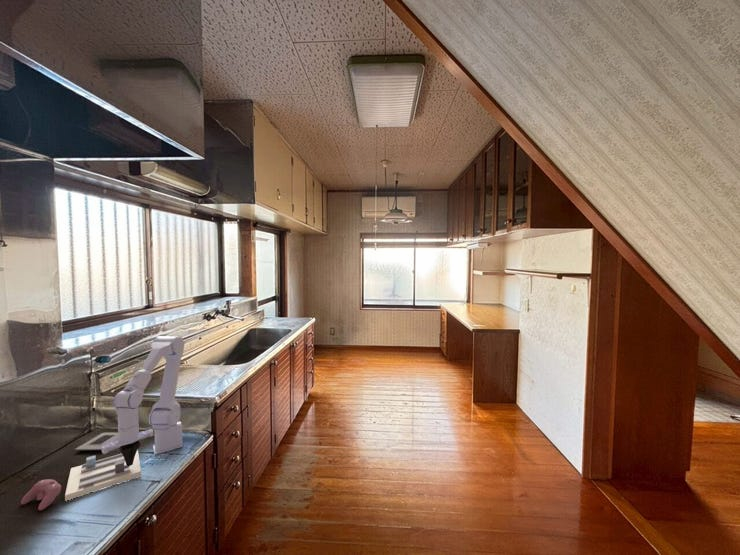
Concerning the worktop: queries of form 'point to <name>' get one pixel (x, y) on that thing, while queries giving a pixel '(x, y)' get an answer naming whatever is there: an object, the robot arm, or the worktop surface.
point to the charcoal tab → (119, 466)
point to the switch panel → (100, 476)
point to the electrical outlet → (98, 442)
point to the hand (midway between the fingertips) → (129, 464)
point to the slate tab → (91, 462)
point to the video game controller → (43, 493)
